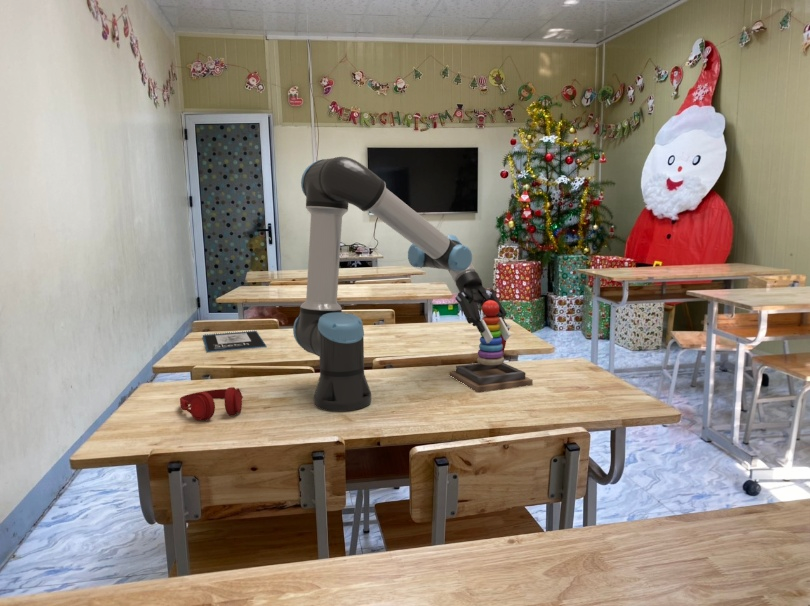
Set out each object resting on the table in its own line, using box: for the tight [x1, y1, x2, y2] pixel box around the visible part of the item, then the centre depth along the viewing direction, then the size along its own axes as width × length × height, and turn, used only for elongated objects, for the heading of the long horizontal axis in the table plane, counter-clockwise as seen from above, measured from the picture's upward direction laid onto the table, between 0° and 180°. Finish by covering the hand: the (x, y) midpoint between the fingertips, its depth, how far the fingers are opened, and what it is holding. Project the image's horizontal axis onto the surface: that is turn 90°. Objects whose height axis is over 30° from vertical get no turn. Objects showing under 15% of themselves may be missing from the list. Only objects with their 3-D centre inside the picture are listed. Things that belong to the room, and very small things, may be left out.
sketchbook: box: [202, 329, 267, 354], centre depth 233 cm, size 22×30×2 cm
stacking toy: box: [476, 300, 505, 365], centre depth 175 cm, size 8×8×19 cm
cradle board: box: [448, 362, 534, 393], centre depth 177 cm, size 18×18×4 cm
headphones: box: [179, 386, 244, 422], centre depth 154 cm, size 15×7×20 cm
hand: (499, 339), depth 172 cm, fingers closed on stacking toy, 6 cm apart
